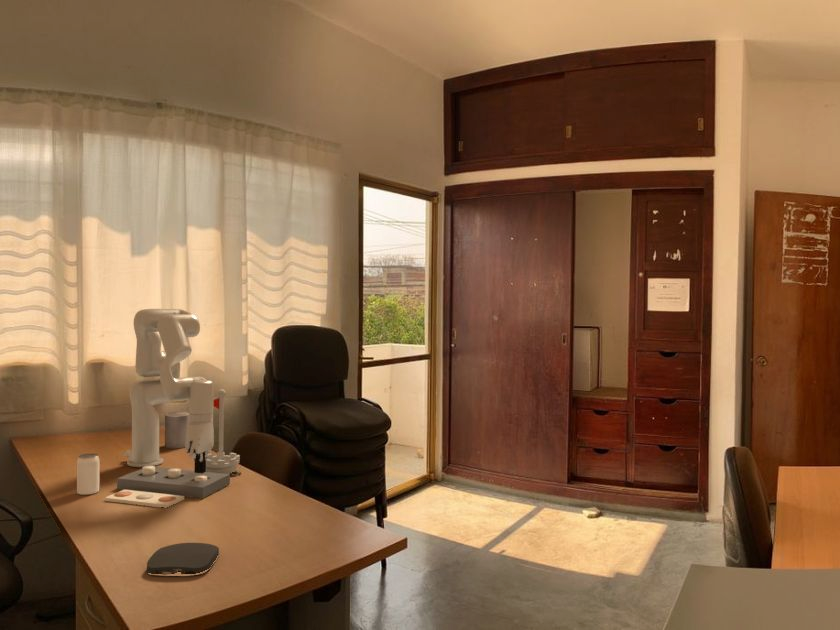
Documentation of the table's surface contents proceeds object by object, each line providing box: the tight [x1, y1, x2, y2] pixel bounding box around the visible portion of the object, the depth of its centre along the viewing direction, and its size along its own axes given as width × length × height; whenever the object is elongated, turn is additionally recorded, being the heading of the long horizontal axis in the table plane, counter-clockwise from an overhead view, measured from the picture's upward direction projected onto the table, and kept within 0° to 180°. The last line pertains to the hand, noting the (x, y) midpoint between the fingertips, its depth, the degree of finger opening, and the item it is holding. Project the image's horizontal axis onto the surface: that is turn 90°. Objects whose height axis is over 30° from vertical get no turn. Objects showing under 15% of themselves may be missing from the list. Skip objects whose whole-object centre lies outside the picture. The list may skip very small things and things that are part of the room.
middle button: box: [168, 468, 182, 479], centre depth 219 cm, size 4×4×3 cm
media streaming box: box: [146, 542, 220, 574], centre depth 158 cm, size 15×15×3 cm
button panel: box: [116, 466, 231, 499], centre depth 219 cm, size 32×16×4 cm, turn 75°
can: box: [76, 452, 100, 496], centre depth 211 cm, size 6×6×12 cm
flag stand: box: [205, 388, 241, 474], centre depth 239 cm, size 13×13×30 cm
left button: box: [141, 466, 156, 476], centre depth 221 cm, size 4×4×3 cm
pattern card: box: [104, 489, 185, 509], centre depth 205 cm, size 22×9×1 cm, turn 75°
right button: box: [194, 476, 207, 482], centre depth 216 cm, size 4×4×3 cm
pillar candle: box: [164, 411, 189, 449], centre depth 276 cm, size 10×10×15 cm
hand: (200, 472), depth 217 cm, fingers closed
